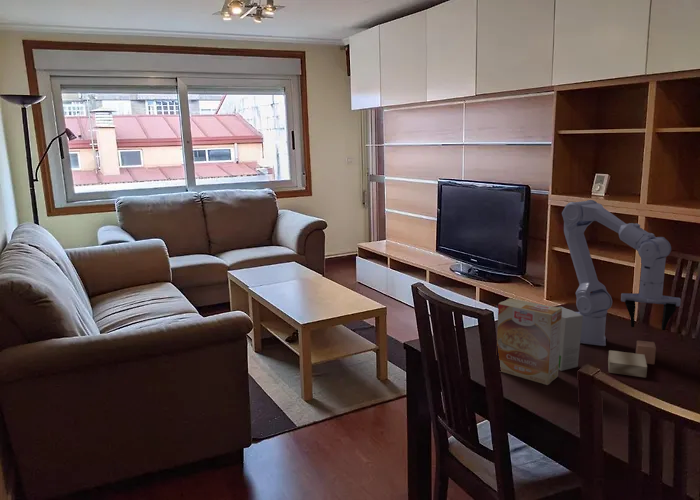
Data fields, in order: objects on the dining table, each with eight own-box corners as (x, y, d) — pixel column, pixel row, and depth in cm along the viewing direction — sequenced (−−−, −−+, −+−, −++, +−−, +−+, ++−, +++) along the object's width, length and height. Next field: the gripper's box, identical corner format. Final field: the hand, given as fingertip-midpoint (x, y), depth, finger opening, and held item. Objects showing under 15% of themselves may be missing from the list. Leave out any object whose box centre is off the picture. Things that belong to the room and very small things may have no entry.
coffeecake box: (495, 370, 151) (497, 303, 147) (507, 362, 156) (509, 297, 152) (547, 386, 141) (551, 314, 137) (558, 376, 146) (562, 307, 142)
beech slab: (608, 372, 148) (609, 362, 147) (608, 360, 156) (608, 350, 155) (646, 377, 144) (647, 367, 144) (643, 364, 152) (644, 354, 152)
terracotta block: (636, 362, 154) (637, 345, 153) (635, 356, 158) (636, 340, 157) (654, 364, 152) (655, 347, 151) (652, 358, 156) (654, 342, 155)
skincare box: (540, 360, 157) (542, 309, 154) (558, 356, 159) (560, 305, 156) (562, 371, 149) (565, 317, 146) (580, 367, 152) (583, 313, 149)
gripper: (623, 282, 150) (619, 329, 153) (684, 286, 145) (679, 335, 147) (622, 276, 157) (618, 321, 159) (680, 280, 151) (675, 327, 154)
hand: (647, 327), depth 154 cm, fingers open, 7 cm apart
